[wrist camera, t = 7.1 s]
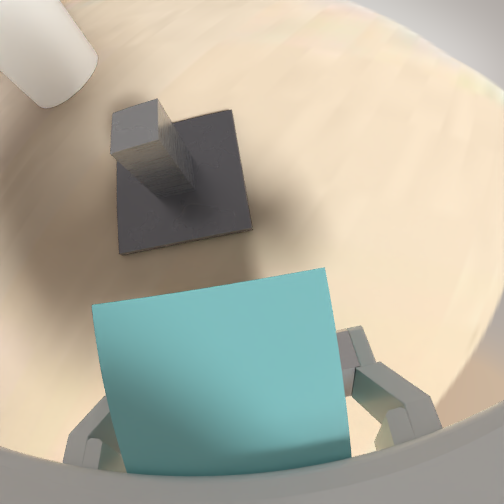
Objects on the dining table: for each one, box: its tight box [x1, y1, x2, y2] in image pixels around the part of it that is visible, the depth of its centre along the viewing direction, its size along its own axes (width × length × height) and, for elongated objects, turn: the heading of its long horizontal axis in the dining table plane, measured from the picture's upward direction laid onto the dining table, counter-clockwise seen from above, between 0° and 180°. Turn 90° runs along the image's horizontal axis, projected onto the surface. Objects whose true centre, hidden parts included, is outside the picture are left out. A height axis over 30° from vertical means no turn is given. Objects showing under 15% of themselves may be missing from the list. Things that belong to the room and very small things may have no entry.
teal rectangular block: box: [92, 267, 351, 476], centre depth 11 cm, size 6×6×9 cm
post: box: [110, 99, 253, 255], centre depth 18 cm, size 9×9×7 cm
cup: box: [0, 0, 98, 108], centre depth 17 cm, size 8×8×16 cm
